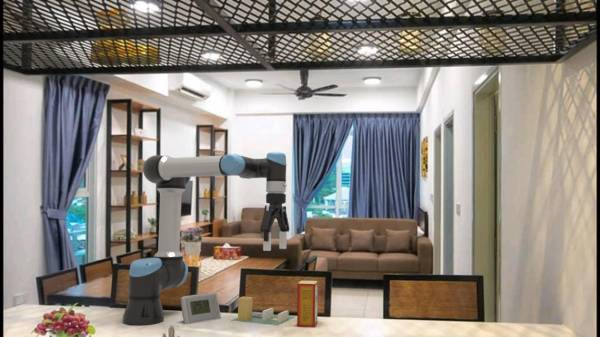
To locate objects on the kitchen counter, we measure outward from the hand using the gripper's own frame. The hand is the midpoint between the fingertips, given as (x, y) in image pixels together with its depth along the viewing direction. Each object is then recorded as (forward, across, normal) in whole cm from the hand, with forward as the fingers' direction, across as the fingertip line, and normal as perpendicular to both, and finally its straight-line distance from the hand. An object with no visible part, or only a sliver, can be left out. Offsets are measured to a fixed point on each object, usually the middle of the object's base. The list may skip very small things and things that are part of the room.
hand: (275, 249), depth 181 cm
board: (+28, +6, +7) cm, 29 cm away
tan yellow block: (+27, +2, +13) cm, 30 cm away
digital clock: (+28, -7, +27) cm, 40 cm away
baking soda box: (+28, +9, -10) cm, 31 cm away
